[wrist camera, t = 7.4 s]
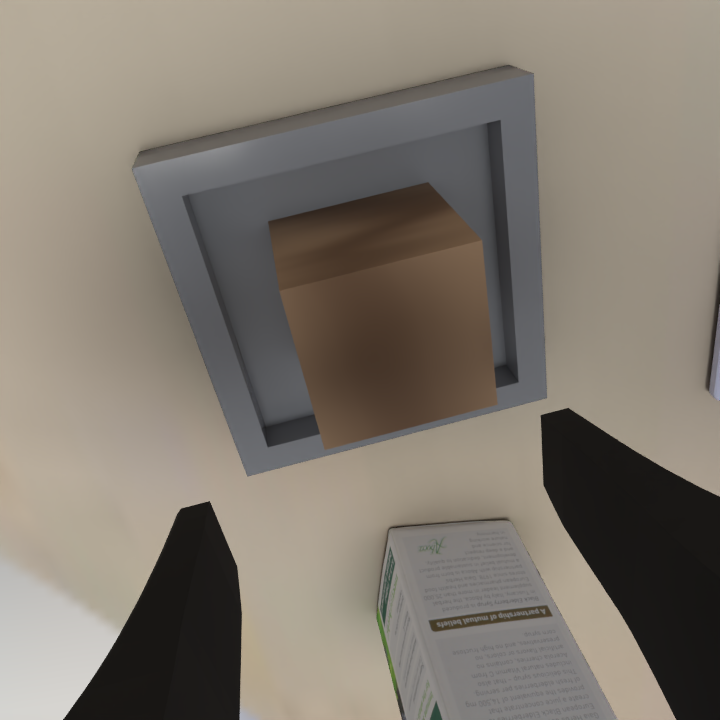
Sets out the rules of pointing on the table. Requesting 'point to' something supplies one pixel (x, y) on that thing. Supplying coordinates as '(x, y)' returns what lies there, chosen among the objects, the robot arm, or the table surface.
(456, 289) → the walnut cube
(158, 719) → the robot arm
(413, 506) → the table surface
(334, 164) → the grey dish
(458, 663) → the syrup box
